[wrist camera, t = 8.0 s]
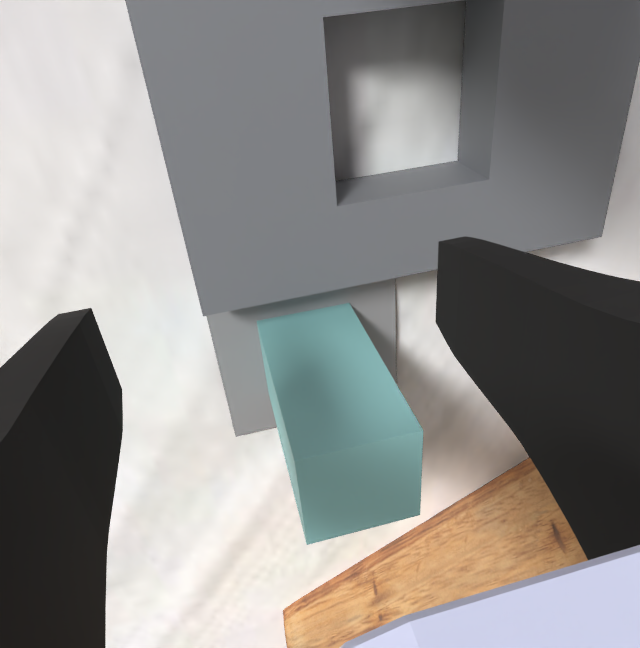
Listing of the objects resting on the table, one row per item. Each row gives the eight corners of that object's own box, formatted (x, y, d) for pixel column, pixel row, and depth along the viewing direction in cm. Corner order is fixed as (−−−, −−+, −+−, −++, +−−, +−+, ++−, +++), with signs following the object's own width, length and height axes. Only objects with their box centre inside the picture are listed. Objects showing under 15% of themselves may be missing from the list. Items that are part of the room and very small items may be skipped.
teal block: (349, 302, 23) (423, 430, 16) (353, 376, 25) (419, 514, 19) (256, 320, 22) (294, 461, 16) (268, 394, 24) (307, 544, 18)
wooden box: (384, 679, 43) (462, 927, 32) (269, 604, 34) (322, 914, 23) (722, 487, 40) (943, 686, 29) (696, 347, 31) (1007, 558, 20)
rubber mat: (391, 247, 22) (394, 251, 22) (393, 393, 27) (396, 398, 27) (199, 284, 21) (200, 289, 21) (235, 431, 26) (235, 436, 25)
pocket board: (623, -141, 17) (686, -159, 15) (563, 214, 24) (601, 236, 22) (106, -100, 15) (97, -114, 13) (199, 284, 21) (203, 316, 19)
